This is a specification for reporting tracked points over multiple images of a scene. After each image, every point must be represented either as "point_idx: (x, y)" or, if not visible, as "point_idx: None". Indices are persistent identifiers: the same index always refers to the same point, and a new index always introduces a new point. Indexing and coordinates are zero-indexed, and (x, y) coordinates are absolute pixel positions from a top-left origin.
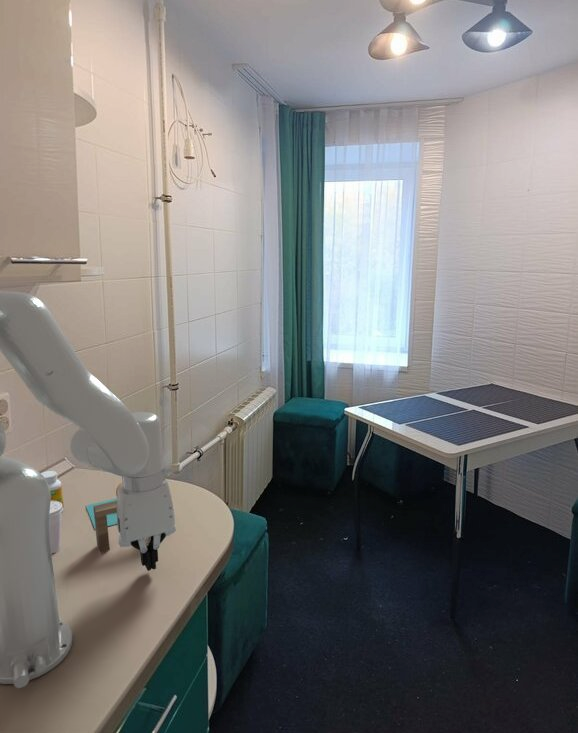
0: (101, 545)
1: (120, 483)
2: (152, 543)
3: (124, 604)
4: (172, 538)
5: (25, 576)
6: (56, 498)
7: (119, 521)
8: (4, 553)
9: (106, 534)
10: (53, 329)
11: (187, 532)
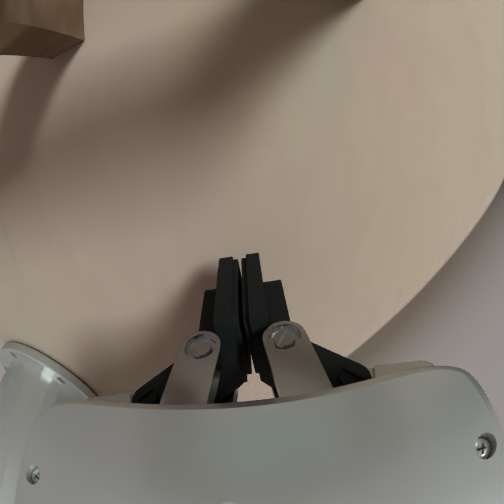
0: (40, 52)
1: None
2: (273, 383)
3: (166, 362)
4: (381, 41)
5: None
6: None
7: (24, 469)
8: None
9: (29, 33)
10: None
11: (437, 41)
